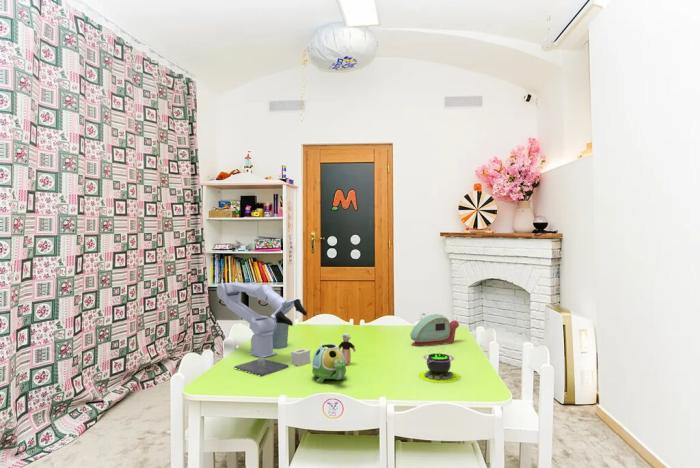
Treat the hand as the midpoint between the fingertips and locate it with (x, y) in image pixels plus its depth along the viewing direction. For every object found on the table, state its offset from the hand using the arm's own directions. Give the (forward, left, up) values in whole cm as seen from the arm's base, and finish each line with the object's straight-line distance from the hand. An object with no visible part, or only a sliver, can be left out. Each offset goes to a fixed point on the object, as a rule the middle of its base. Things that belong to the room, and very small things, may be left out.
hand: (299, 318), depth 189 cm
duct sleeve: (+1, 0, -18) cm, 18 cm away
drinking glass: (-27, +14, -18) cm, 36 cm away
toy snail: (+30, +62, -18) cm, 71 cm away
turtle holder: (+24, -8, -18) cm, 31 cm away
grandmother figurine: (+17, +10, -18) cm, 27 cm away
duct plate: (-7, -14, -18) cm, 24 cm away
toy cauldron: (+54, +18, -19) cm, 60 cm away
